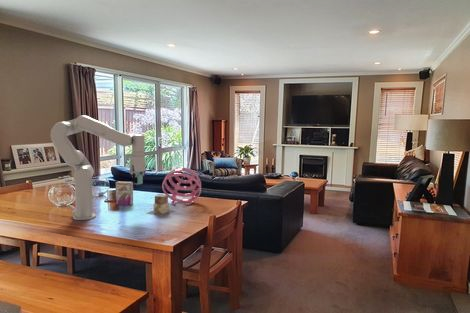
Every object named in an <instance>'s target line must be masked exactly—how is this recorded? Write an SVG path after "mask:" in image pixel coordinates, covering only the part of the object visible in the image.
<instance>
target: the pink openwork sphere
mask: <svg viewBox="0 0 470 313" xmlns="http://www.w3.org/2000/svg"><path fill="white" fill-rule="evenodd" d="M183 172H186V173H183ZM187 173H189V174H187ZM173 177H174V178H175V180H176V181H178V182H177V183H176V182H174V180H173ZM180 177H181V178H180ZM184 177H185V178H187V179H184ZM167 180H168V182H169V184H170V185H171V186H172V187H173V188H174V189H172V188H171V187H170V186H169V185H168V183H167ZM193 181H194V182H195V183H194V184H193ZM181 184H190V186H181ZM161 186H162V191H163V193H164V195H168V198H169V199H170V201H171V204H172V205H173V206H176V205H177V204H178V203H181V205H183V206H190V205H192V204H193V203H194V202H195V200H196V199H198V197H200V195H201V193H202V181H201V179H200V177H199V176H198V174H197V173H196V172H195V171H194V170H192V169H190V168H188V167H176V168H174V169H172V170H171V171H169V172H167V174H166V175H165V177H164V179H163V181H162V185H161ZM196 187H198V188H197V189H196ZM195 189H196V190H195ZM166 190H167V191H168V192H170V194H171V195H170V194H169V193H168V192H167V191H166ZM179 190H180V191H191V192H190V193H181V192H178V191H179ZM177 197H181V198H188V199H180V198H177ZM189 197H191V198H189Z"/></svg>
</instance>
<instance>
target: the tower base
mask: <svg viewBox="0 0 470 313" xmlns="http://www.w3.org/2000/svg"><path fill="white" fill-rule="evenodd" d="M169 208H170V202H169V201H168V203H165V204H163V205H162V204H155V202H154V203H153V210H154V213H159V214H164V213H166V212H169V210H170V209H169Z"/></svg>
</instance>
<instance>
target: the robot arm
mask: <svg viewBox="0 0 470 313" xmlns="http://www.w3.org/2000/svg"><path fill="white" fill-rule="evenodd" d="M80 132H87V133H90V134H92V135H95V136H97V137H99V138H101V139H104V140H106V141H109V142H111V143H114V144H115V145H118V146H121V147H129V146H131V157H130V162H129V163H130V164H129V174H130V175H131V177H132V182H133V184H134V183H135V184H134V185H138V184H137V174H143V183H144V177H145V174H146V172H147V166H146V157H145V146H146V144H145V139H146V138H145V135H144V134H136V133H135V134H130V133H124V132H121V131H119V130H116V129H115V128H113V127H111V126H109V124H107V123H104V122H103V121H99V120H96V119H94V118H92V117H90V116H89V115H84V114H82V115H79V116H78V117H76V118H73V119H71V120H66V121H59V122H56V123H55V124H54V125H53V126H52V127H51V131H50V133H49V134H50V140H51V142H52V144H53V146H54V147H55V149H56V150H57V152H58V153H59V155H60V156H61V158H62V159H63V161H64V162H65V164H66V165H67V166H69V167H72V168H73V169H74V173H73V181H74V182H73V184H74V199H75V204H74V205H75V209H73V210H72V214H74V215H73V216H72V219H73V220H74V221H87V220H91V219H94V218H95V217H96V213H94V212H93V210H94V209H93V208H94V206H93V205H94V204H93V203H94V202H93V200H94V198H93V180H92V179H93V178H92V177H93V176H94V174H95V170H94V168H93V165H91V163H90V161H89V160H88V159H87V157H86V156H85V154H84V153H83V152H82V151H81V150H77V149H76V148H75V146H74V145H73V143H72V142H71V141H70V139H69V138H68V136H70V135H75V134H77V133H80Z"/></svg>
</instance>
